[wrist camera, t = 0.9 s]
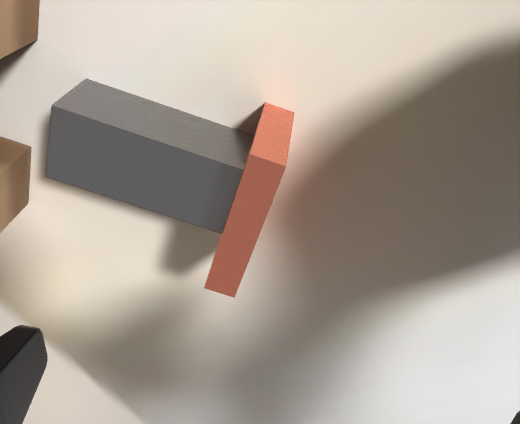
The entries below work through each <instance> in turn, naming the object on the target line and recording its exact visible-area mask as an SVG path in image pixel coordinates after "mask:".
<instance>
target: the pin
mask: <svg viewBox="0 0 520 424" xmlns="http://www.w3.org/2000/svg"><path fill="white" fill-rule="evenodd" d="M293 118H294V112H291V111H289V110H286V109H283V108H280V107H277V106H274V105H271V104H268V103H265V105H264V108H263V111H262V114H261V117H260V120H259V123H258V126H257V129H256V131H255V134H254V136H253V135H250V134H247V133H244V132H241V131H238V130H236V129H233V128H230V127H227V126H224V125H221V124H218V123H215V122H212V121H209V120H206V119H203V118H200V117H197V116H194V115H192V114H189V113H186V112H183V111H180V110H177V109H174V108H171V107H168V106H165V105H162V104H159V103H156V102H153V101H151V100H148V99H145V98H142V97H139V96H136V95H133V94H130V93H127V92H124V91H121V90H118V89H115V88H112V87H109V86H107V85H104V84H101V83H98V82H95V81H92V80H89V79H85V80H84V81H82V82H81V83H80V84H79V85H77V86H76V87H75V88H73V89H72V90H71V91H70V92H68V93H67V94H66V95H64V96H63V97H62V98H61V99H59V100H58V101H57V102H55V103H54V104H53V105H52V107H51V120H50V133H49V146H48V158H47V171H46V177H49V178H52V179H55V180H58V181H61V182H64V183H68V184H71V185H74V186H77V187H80V188H83V189H86V190H89V191H92V192H95V193H98V194H101V195H104V196H108V197H111V198H114V199H117V200H120V201H123V202H126V203H129V204H132V205H135V206H138V207H141V208H144V209H148V210H151V211H154V212H157V213H160V214H163V215H166V216H169V217H172V218H175V219H178V220H181V221H184V222H188V223H191V224H194V225H197V226H200V227H203V228H206V229H209V230H212V231H215V232H218V233H221V236H220V239H219V242H218V246H217V249H216V252H215V255H214V258H213V262H212V265H211V268H210V271H209V274H208V278H207V281H206V284H205V287H204V288H206V289H209V290H212V291H215V292H218V293H221V294H225V295H228V296H231V297H235V295H236V292H237V289H238V287H239V284H240V282H241V279H242V277H243V274H244V272H245V269H246V267H247V264H248V262H249V259H250V256H251V254H252V251H253V249H254V246H255V244H256V241H257V239H258V236H259V234H260V231H261V228H262V226H263V223H264V221H265V218H266V216H267V213H268V211H269V208H270V206H271V203H272V201H273V198H274V195H275V193H276V190H277V188H278V185H279V183H280V180H281V178H282V175H283V173H284V170H285V167H286V163H287V156H288V150H289V144H290V137H291V131H292V125H293Z"/></svg>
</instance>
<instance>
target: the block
mask: <svg viewBox="0 0 520 424" xmlns="http://www.w3.org/2000/svg"><path fill="white" fill-rule="evenodd" d="M38 18H39V0H0V59H1V58H3V57H5V56H7V55H9V54H11V53H13V52H15V51H17V50H18V49H20V48H22V47H24V46H26V45H28V44H30V43H32V42H34V41H36V40H37V36H38ZM30 162H31V147H30V146H27V145H24V144H21V143H18V142H15V141H12V140H9V139H6V138H3V137H0V232H1V231H2V230H3V229H4V228H5V227H6V226H7V225H8V224H9V223H10V222H11V221H12V220H13V219H14V218H15V217H16V216H17V215H18V213H19V212H20V211H21V210H22V209H23V208H24V207H25V206H26V205H27V204H28V199H29V180H30Z"/></svg>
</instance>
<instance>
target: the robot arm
mask: <svg viewBox="0 0 520 424" xmlns="http://www.w3.org/2000/svg"><path fill="white" fill-rule="evenodd" d="M46 365H47V352H46V347H45V343H44V338H43V334H42V331H41V330H40V329H39V328H36V327H31V326H25V325H20V326H17V327H15V328H13V329H11V330H10V331H8V332H7V333H5V334H4V335H2V336H0V424H22V423H23V420H24V418H25V416H26V413H27V411H28V409H29V406H30V404H31V402H32V399H33V397H34V394H35V392H36V390H37V387H38V385H39V382H40V380H41V378H42V375H43V373H44V370H45V368H46ZM511 424H520V411H519V412H518V413H517V414H516V415H515V417H514V419H513V420H512V422H511Z"/></svg>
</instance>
